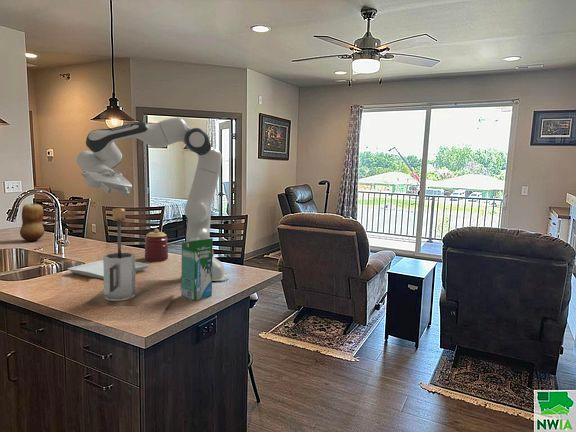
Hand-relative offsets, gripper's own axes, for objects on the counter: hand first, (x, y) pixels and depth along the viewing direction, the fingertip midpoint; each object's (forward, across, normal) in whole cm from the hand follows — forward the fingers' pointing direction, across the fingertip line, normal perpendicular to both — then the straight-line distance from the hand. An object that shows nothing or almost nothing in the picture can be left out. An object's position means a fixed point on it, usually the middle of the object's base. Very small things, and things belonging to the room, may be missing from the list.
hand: (118, 192), depth 164 cm
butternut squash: (-97, +43, +95) cm, 142 cm away
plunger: (+25, -4, +21) cm, 33 cm away
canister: (-10, +55, +44) cm, 71 cm away
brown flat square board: (+31, -2, +32) cm, 44 cm away
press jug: (+31, -4, +30) cm, 43 cm away
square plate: (-4, +22, +47) cm, 53 cm away
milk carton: (+47, +19, +19) cm, 54 cm away
